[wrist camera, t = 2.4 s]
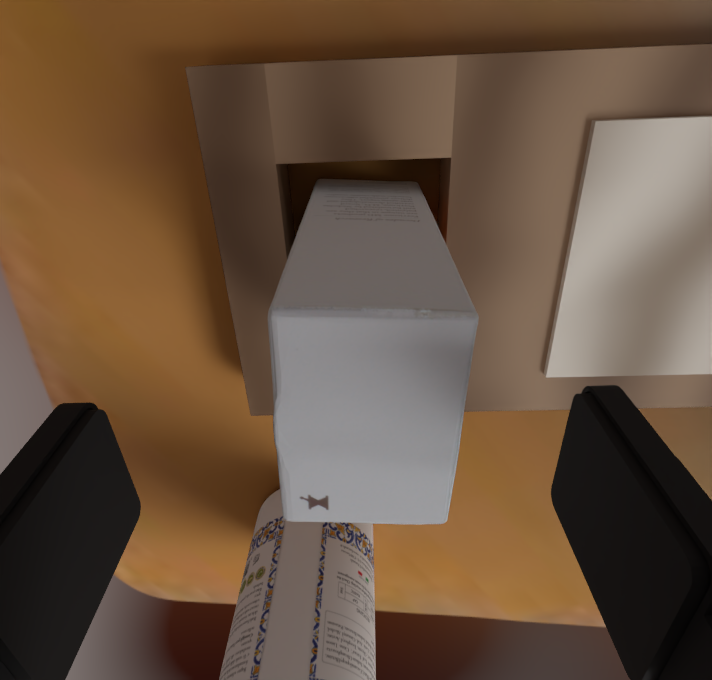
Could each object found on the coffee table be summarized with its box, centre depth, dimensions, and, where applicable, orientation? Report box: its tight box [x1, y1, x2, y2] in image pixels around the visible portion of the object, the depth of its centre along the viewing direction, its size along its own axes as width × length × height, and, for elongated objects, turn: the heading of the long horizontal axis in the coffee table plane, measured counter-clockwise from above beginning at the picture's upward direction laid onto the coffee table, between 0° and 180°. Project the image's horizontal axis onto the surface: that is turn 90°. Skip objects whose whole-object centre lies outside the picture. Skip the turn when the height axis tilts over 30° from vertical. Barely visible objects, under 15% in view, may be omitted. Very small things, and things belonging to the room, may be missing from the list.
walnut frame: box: [185, 43, 712, 416], centre depth 19 cm, size 24×14×3 cm, turn 92°
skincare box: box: [268, 179, 479, 524], centre depth 16 cm, size 6×4×12 cm
